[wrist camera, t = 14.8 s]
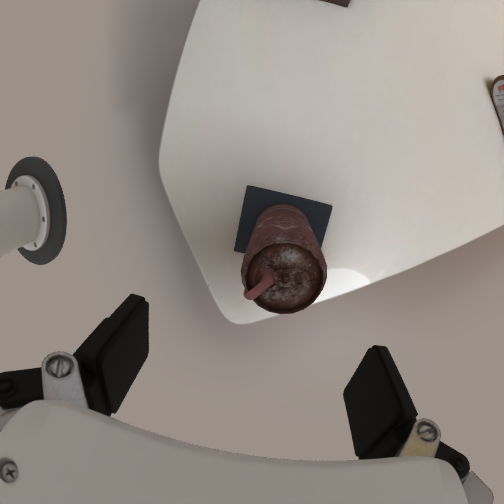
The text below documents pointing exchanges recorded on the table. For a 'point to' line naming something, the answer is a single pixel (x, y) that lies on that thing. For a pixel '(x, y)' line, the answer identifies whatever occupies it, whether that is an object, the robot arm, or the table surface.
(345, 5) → the holder
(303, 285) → the can
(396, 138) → the table surface
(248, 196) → the mat
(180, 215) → the table surface
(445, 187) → the table surface
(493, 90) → the tin
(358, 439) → the robot arm
